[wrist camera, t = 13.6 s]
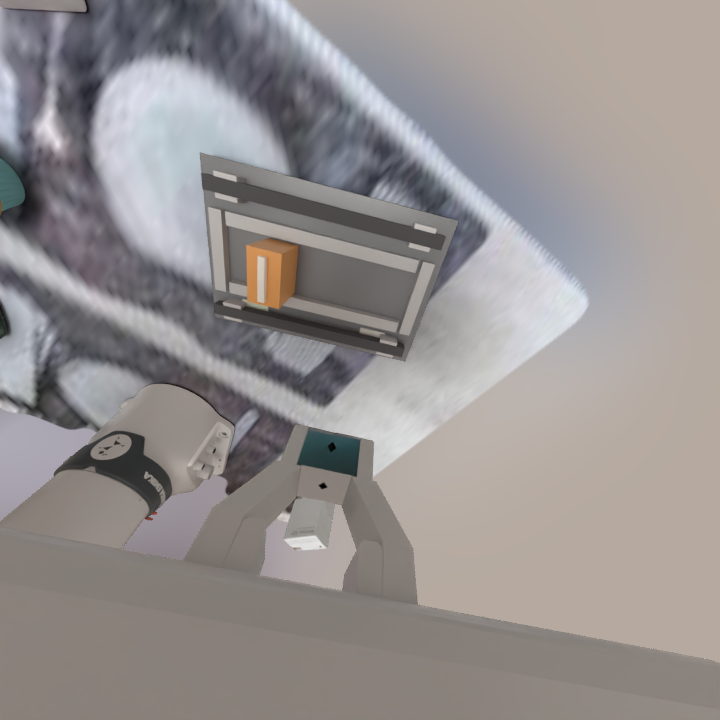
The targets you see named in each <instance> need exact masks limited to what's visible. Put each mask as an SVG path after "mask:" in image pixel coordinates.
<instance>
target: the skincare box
mask: <svg viewBox="0 0 720 720" xmlns="http://www.w3.org/2000/svg"><path fill="white" fill-rule="evenodd" d="M334 507H335V504H334V503H330V502H325V501H321V500H316V499H310V498H305V497H299V496H296V498H295V502H294V505H293V508H292V512H291V515H290V518H289V522H288V525H287V528H286V532H285V536H284V540H285V541H286V542H287V543H288V544H289V545H290V546H291V547H293V548H294V549H295V550H314V549H324V548H327V547H328V542H329V536H330V531H331V524H332V519H333V513H334Z"/></svg>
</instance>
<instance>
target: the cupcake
mask: <svg viewBox="0 0 720 720" xmlns="http://www.w3.org/2000/svg"><path fill="white" fill-rule="evenodd" d="M24 199H25V190H24V187H23V184H22V182H21V180H20V179H19V177H18V175H17V174H16V173H15V171H14V170H13V169H12V168H11V167H10V166H9V165H8V164H7V163H6V162H5V161H4V160H3V159H1V158H0V215H1V213H2V212H3V211H5V210H7V209H9V208H12V207H15V206H18V205H20V204H22V203H23V202H24Z"/></svg>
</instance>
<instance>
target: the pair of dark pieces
mask: <svg viewBox="0 0 720 720" xmlns="http://www.w3.org/2000/svg"><path fill="white" fill-rule="evenodd" d="M201 175H202V186H203V189H204V190H208V191H212V192H215V193H219V194H223V195H227V196H231V197H235V198H239V199H243V200H246V201H250V202H254V203H258V204H262V205H266V206H270V207H274V208H277V209H281V210H285V211H289V212H293V213H297V214H301V215H305V216H308V217H312V218H316V219H320V220H324V221H328V222H332V223H336V224H339V225H343V226H347V227H351V228H355V229H359V230H363V231H366V232H370V233H374V234H378V235H382V236H386V237H390V238H394V239H397V240H401V241H405V242H409V243H413V244H417V245H421V246H425V247H428V248H432V249H436V250H440V251H441V249H442V247H443V244H444V241H445V239H446V236H444V235H441V234H437V233H435V234H434V233H430V232H426V231H422V230H418V229H415V228H413V227H410V226H406V225H402V224H398V223H395V222H391V221H387V220H383V219H379V218H376V217H372V216H368V215H364V214H360V213H356V212H353V211H349V210H345V209H341V208H337V207H333V206H330V205H326V204H322V203H318V202H314V201H311V200H307V199H303V198H299V197H295V196H291V195H288V194H284V193H280V192H276V191H272V190H268V189H265V188H261V187H257V186H253V185H249V184H245V183H241V182H235V181H231V180H227V179H223V178H219V177H216V176H214V175H211V174H206V173H201ZM223 302H224V301H222V300H219V301H217V302H215V303H214V312H215V314H219V315H223V316H228V317H232V318H236V319H240V320H245V321H249V322H253V323H257V324H262V325H266V326H270V327H274V328H279V329H283V330H287V331H291V332H296V333H300V334H304V335H308V336H313V337H317V338H321V339H325V340H330V341H334V342H338V343H342V344H347V345H351V346H355V347H359V348H364V349H368V350H372V351H376V352H381V353H385V354H389V355H393V356H398V357H402V355H403V352H404V350H405V347H404V344H402V343H398V342H397V346H392V345H388V344H384V343H380V338H377V337H373V336H369V335H364V334H360V333H356V332H352V331H348V330H343V329H339V328H335V327H331V326H327V325H323V324H318V323H314V322H310V321H306V320H302V319H297V318H293V317H289V316H285V315H281V314H276V313H272V312H268V311H264V310H260V309H255V308H251V307H247V306H245V307H244V308H243V309H236V308H232V307H228V306H224V305H223Z"/></svg>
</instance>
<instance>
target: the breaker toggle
mask: <svg viewBox="0 0 720 720" xmlns="http://www.w3.org/2000/svg"><path fill="white" fill-rule="evenodd" d="M298 248H299V245H295V244H291V243H287V242H283V241H279V240H275V239H271V238H267V239H264V240H261V241H258V242H255V243H252V244H249V245H246V255H247V302H251V303H256V304H260V305H264V306H268V307H272V308H277V309H280V307H281V306H282V305H283V304H284V303H285V302H286V301H287V300H288V299H289V298H290V297H291V296H292V295H293V294H294V293H295V283H296V271H297V259H298Z"/></svg>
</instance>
